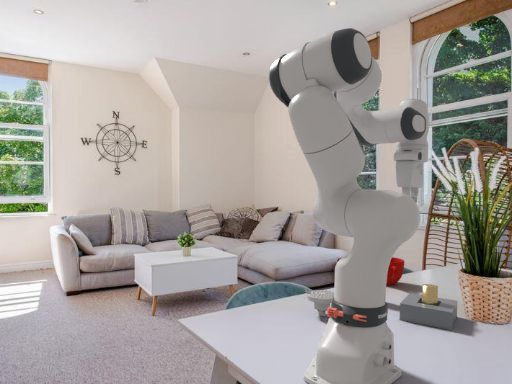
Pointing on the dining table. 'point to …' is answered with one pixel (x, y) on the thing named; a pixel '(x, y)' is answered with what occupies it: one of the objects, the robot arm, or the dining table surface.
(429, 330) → the dining table surface
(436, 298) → the brass pipe
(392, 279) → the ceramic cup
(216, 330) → the dining table surface
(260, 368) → the dining table surface
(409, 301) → the fitting block
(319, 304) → the showerhead
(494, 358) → the dining table surface
